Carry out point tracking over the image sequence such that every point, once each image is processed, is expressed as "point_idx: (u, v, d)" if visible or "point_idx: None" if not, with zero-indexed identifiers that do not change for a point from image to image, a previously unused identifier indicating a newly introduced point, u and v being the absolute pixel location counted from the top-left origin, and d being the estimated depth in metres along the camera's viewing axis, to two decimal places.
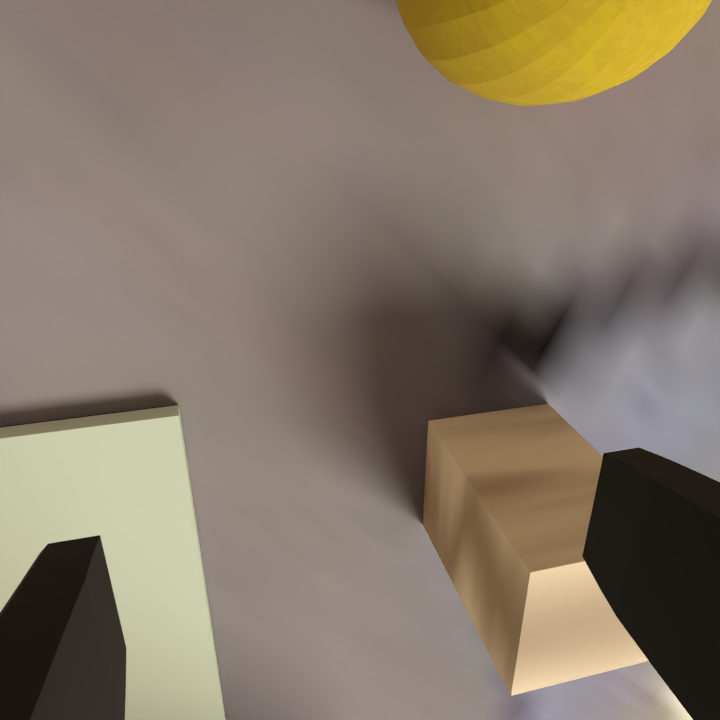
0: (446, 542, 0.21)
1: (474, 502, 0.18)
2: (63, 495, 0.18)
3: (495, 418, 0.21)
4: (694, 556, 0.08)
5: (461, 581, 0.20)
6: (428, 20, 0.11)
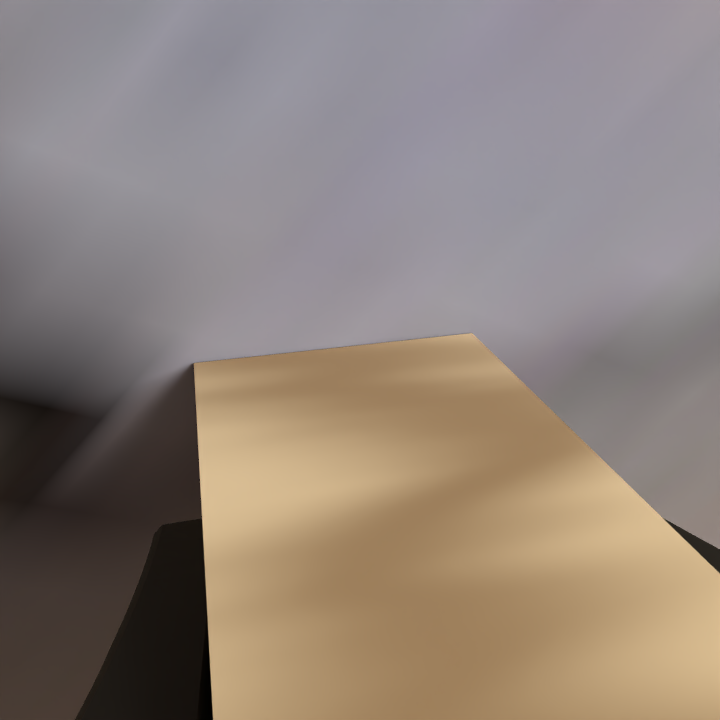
0: None
1: None
2: None
3: None
4: None
5: None
6: None
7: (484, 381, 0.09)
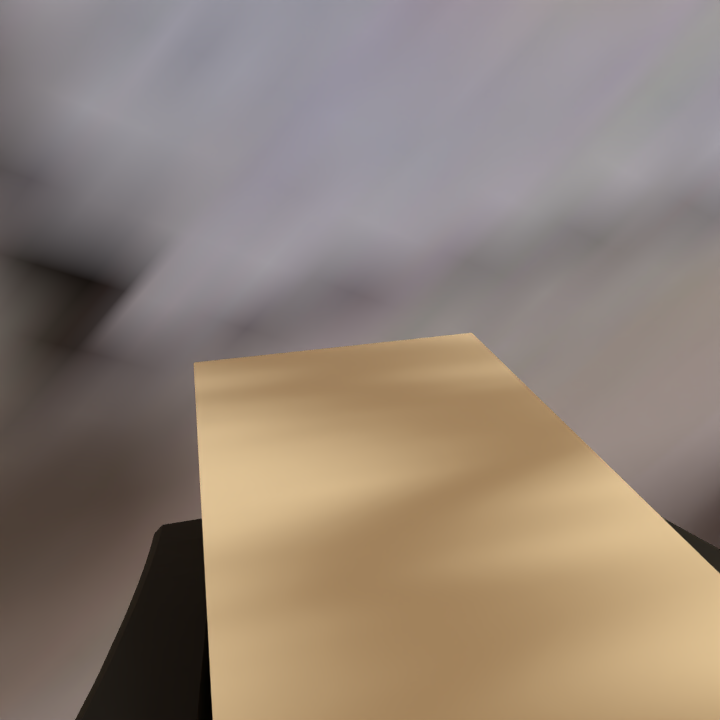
0: None
1: None
2: None
3: None
4: None
5: None
6: None
7: (484, 380, 0.09)
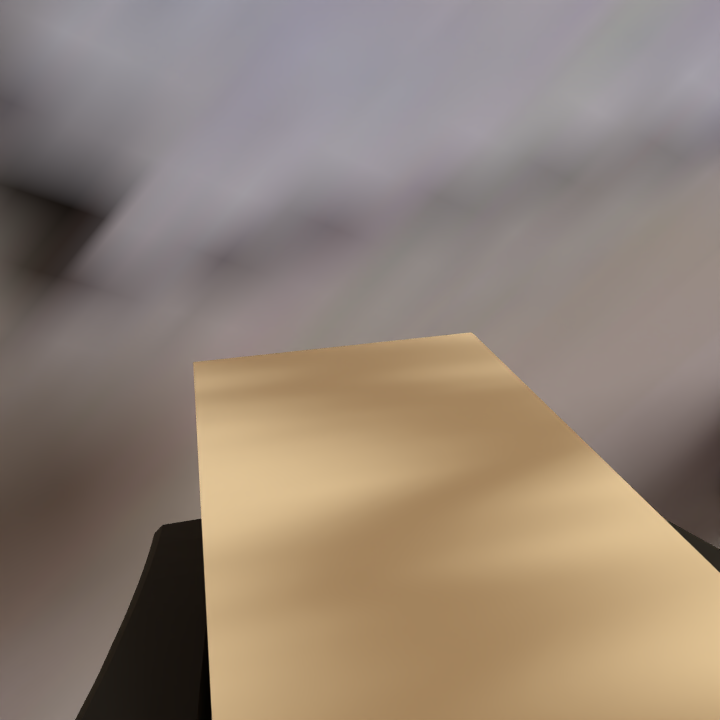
0: None
1: None
2: None
3: None
4: None
5: None
6: None
7: (484, 380, 0.09)
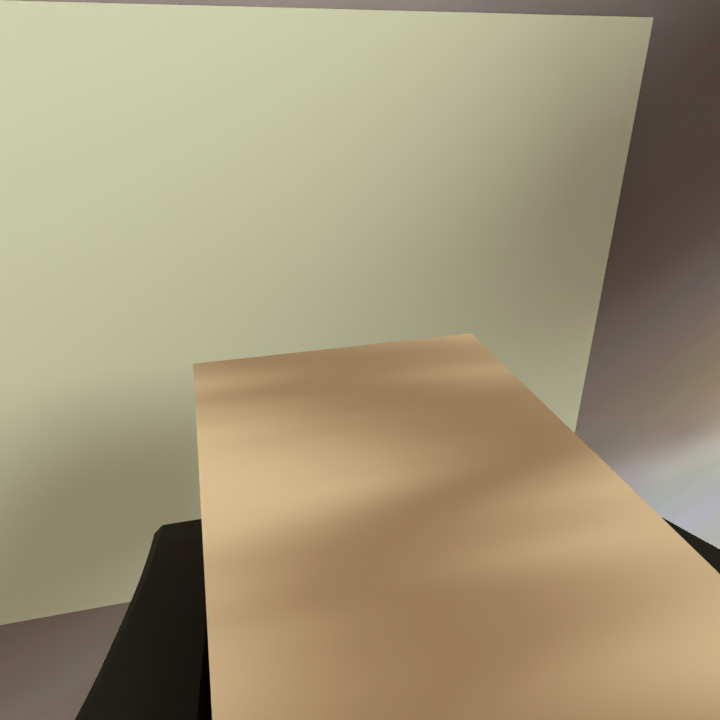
0: None
1: None
2: None
3: None
4: None
5: None
6: None
7: (484, 381, 0.09)
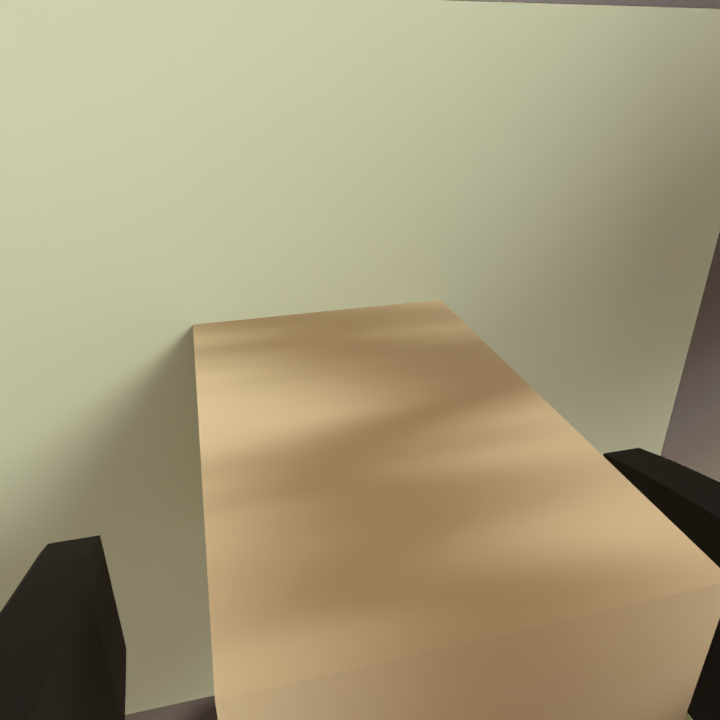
0: None
1: None
2: None
3: None
4: None
5: None
6: None
7: (446, 337, 0.10)
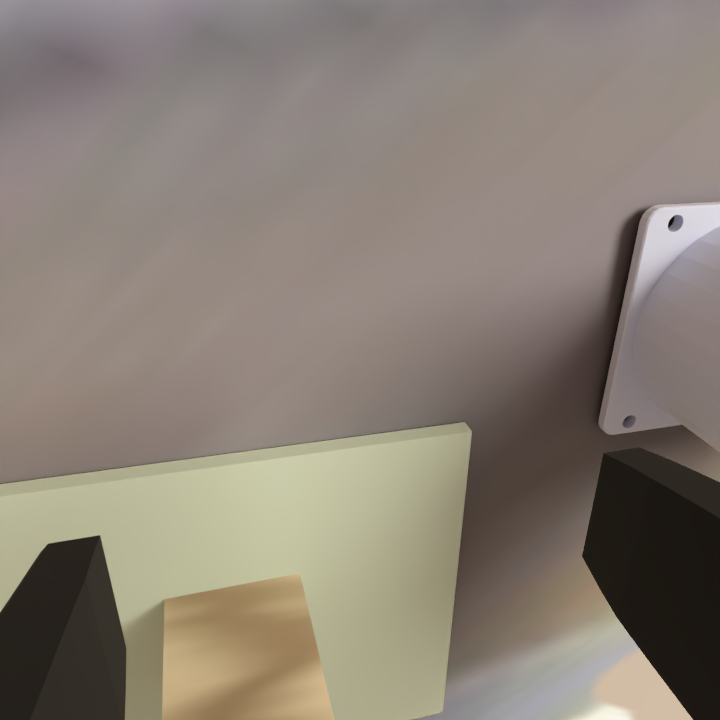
0: None
1: None
2: None
3: None
4: (695, 556, 0.08)
5: None
6: None
7: (292, 612, 0.20)
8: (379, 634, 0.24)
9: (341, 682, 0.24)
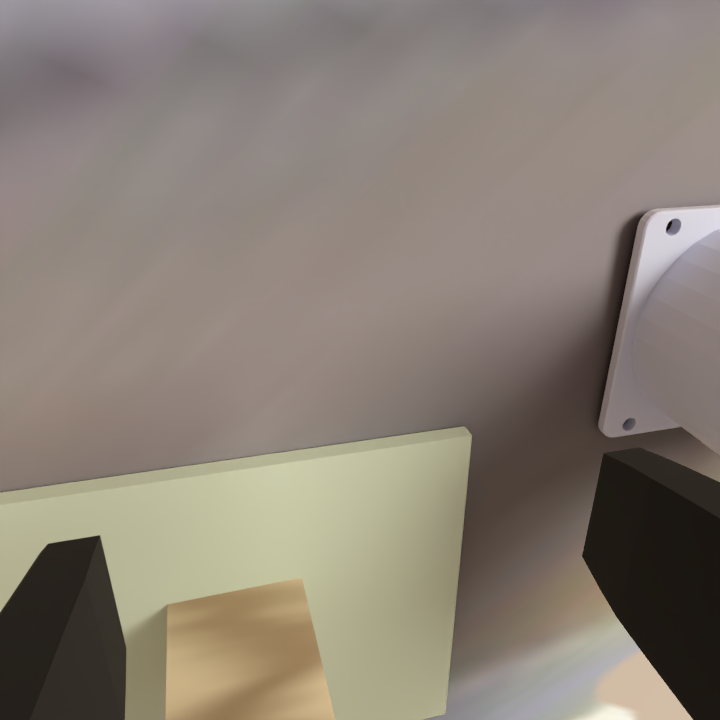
0: None
1: None
2: None
3: None
4: (694, 556, 0.08)
5: None
6: None
7: (294, 616, 0.20)
8: (381, 637, 0.24)
9: (344, 685, 0.24)
